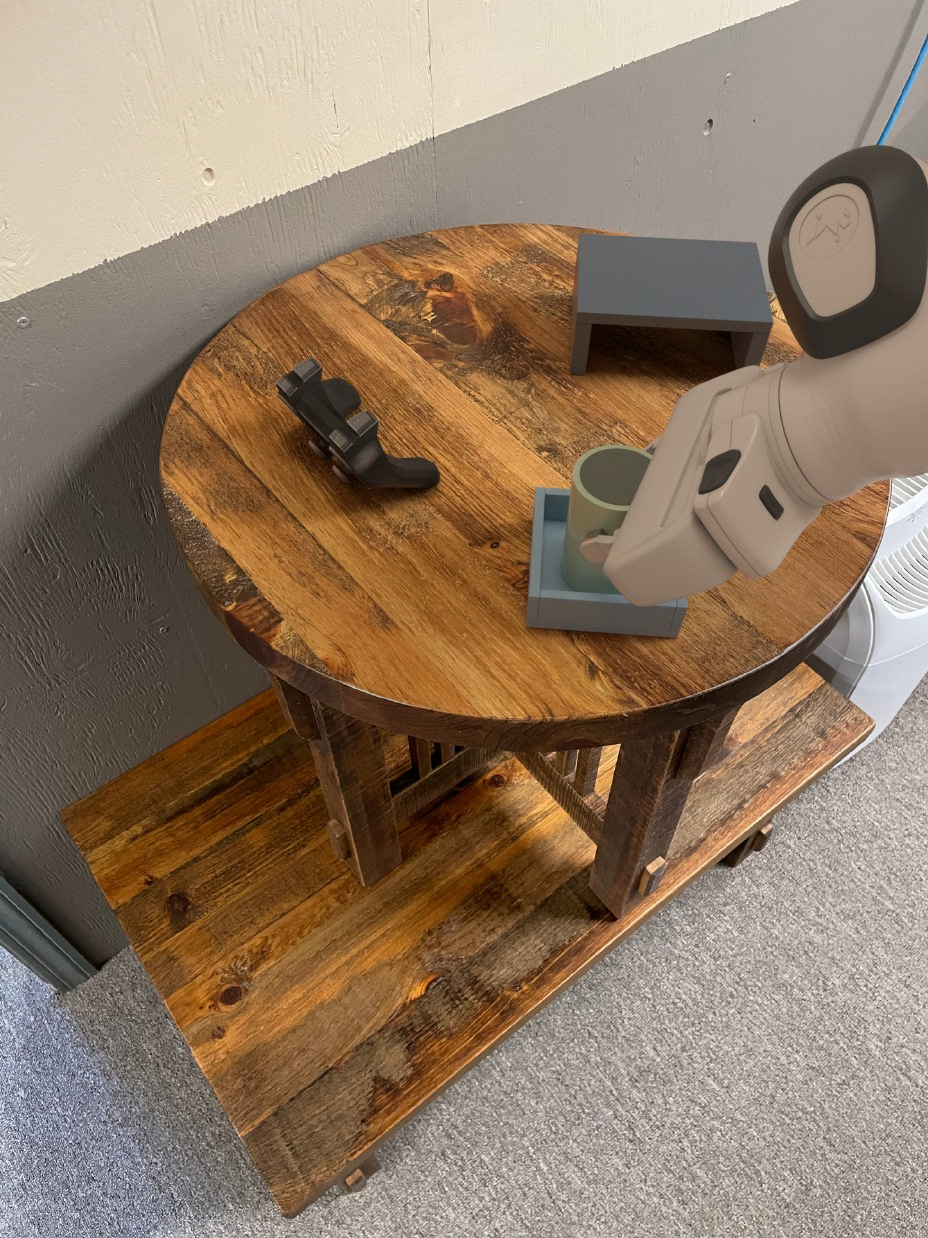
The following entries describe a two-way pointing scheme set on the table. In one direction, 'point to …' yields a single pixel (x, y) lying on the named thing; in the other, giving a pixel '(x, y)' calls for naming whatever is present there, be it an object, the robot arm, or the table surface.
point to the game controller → (349, 431)
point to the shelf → (670, 290)
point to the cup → (598, 509)
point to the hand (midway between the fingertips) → (604, 512)
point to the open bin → (582, 610)
